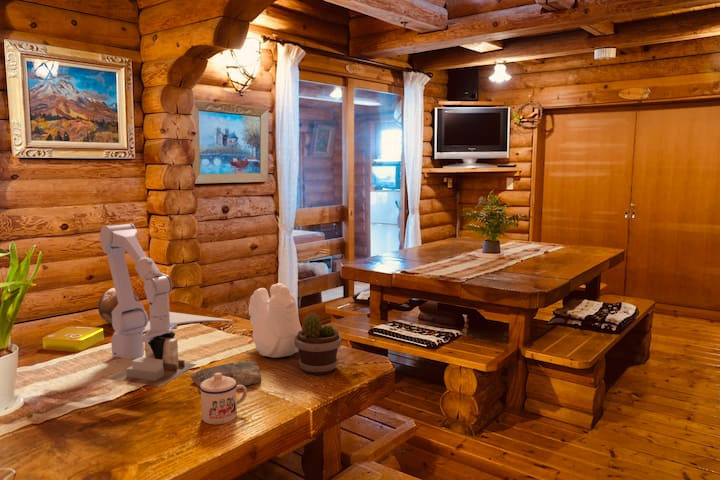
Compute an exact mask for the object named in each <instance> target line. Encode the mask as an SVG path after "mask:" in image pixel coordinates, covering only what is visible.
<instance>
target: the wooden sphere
mask: <svg viewBox="0 0 720 480" xmlns="http://www.w3.org/2000/svg"><path fill="white" fill-rule="evenodd" d="M133 294H134V298H135V301H137V302H139V303H141V302H140V299H139V296H138V295H137V294H136V292H135V291H134V290H133ZM117 305H118V300H117V296H116V291H115V287H111V288H109V289H107V290H105V291H104V293H102V295H101V296H100V298H99V300H98V304H97V307H98V308H97V309H98V313H99V315H100V317H101V318H102V320H104V322H106V323H108V324H110V325H112V313H111V312H112V311H113V310H114V308H115V307H116V306H117ZM131 311H134V310H128V311H124V312H122V313H126V312H131Z"/></svg>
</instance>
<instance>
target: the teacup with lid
mask: <svg viewBox="0 0 720 480" xmlns="http://www.w3.org/2000/svg"><path fill="white" fill-rule="evenodd" d="M239 389H242V390H243V394H242V396H241V398H240V399H238V400H237V390H239ZM199 390H200V399H201V400H200V403H201V405H200V406H201V419H202V421H203V422H204V423H206V424H207V425H208V424H209V425H224V424H228V423H230V422H232V421H234V420H235V419H236V418H237V416H238V412H237V410H238V408H237V407H238V405H240V404H242V403H243V402H244V401H245V400H246V398H247V395H248V389H247V387H246V386H243V385H237V383H236V381H235V380H234V379H233V378H231V377H225V376H222V373H215V374H214V377H211V378H209V379H206V380H205V381H203V382H202V383H201V385H200V386H199Z"/></svg>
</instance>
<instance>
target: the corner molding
mask: <svg viewBox="0 0 720 480" xmlns="http://www.w3.org/2000/svg"><path fill="white" fill-rule="evenodd" d="M169 316H170V323H171V322H175V323H177V326H178V325H182V324H190V323H201V322H202V323H203V322H233V321H234V320H233V319H228V318H219V317H214V316H212V317H211V316H206V315H205V316H204V315H197V314H188V313H183V312H174V311H173V312H172V311H169ZM149 330H150V320H148V324H147V326H146V327H145V330H143V334H144V333H145V334H146V333H147V332H148V331H149Z"/></svg>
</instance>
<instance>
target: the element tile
mask: <svg viewBox="0 0 720 480" xmlns="http://www.w3.org/2000/svg"><path fill="white" fill-rule="evenodd" d="M104 340H105V331H104V328H103V327H95V326H93V327H91V326H89V327H88V326H76V325H75V326H74V325H73V326H72V325H71V326H67V327H64V328H62V329H59V330H56V331H54V332H53V333H50V334H48V335H45V336H44V337H42V349H43V350H46V351H58V352H59V351H60V352H76V353H77V352H81V351H85V350H86V349H89V348H90V347H92V346H94V345H96V344H98V343H100V342H102V341H104Z"/></svg>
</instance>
